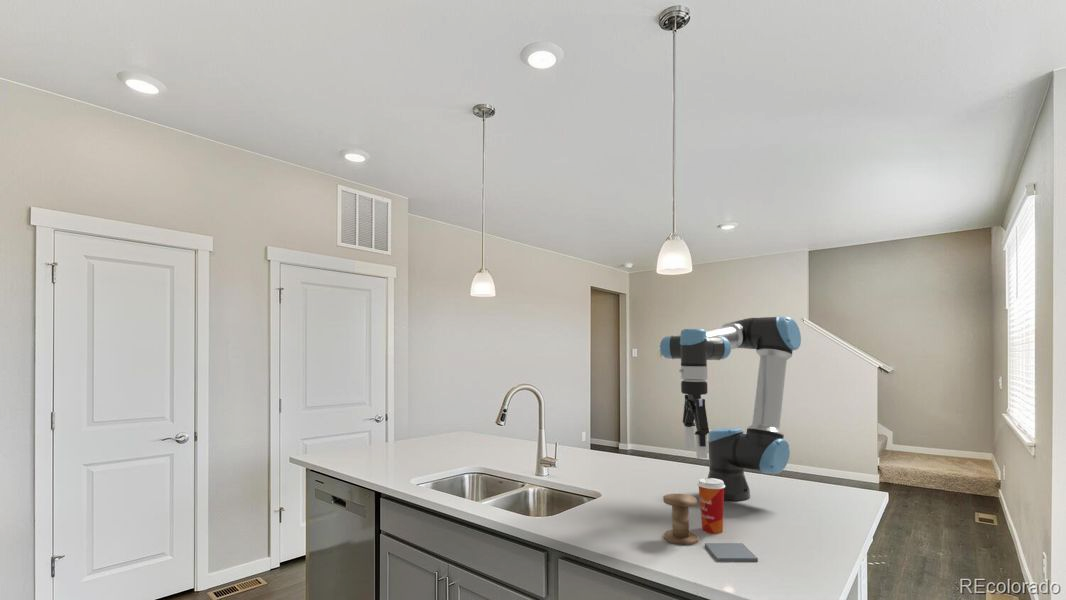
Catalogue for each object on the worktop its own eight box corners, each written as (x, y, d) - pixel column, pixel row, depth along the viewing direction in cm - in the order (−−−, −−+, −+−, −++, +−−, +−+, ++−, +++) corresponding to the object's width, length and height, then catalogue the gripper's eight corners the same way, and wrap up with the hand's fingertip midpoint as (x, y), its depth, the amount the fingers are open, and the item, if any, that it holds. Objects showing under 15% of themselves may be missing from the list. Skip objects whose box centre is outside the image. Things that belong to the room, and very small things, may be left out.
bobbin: (692, 533, 153) (691, 493, 153) (702, 545, 144) (701, 503, 144) (660, 533, 153) (660, 493, 153) (668, 545, 144) (667, 503, 144)
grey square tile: (742, 546, 143) (742, 543, 143) (757, 561, 133) (757, 558, 133) (704, 546, 143) (704, 543, 143) (717, 561, 133) (717, 558, 133)
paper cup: (694, 526, 159) (693, 477, 160) (719, 525, 159) (718, 477, 160) (705, 535, 151) (703, 484, 152) (731, 534, 151) (730, 484, 153)
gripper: (672, 377, 173) (673, 444, 172) (692, 383, 148) (693, 462, 147) (695, 377, 173) (697, 444, 171) (719, 383, 148) (721, 462, 147)
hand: (695, 453), depth 159 cm, fingers open, 13 cm apart
